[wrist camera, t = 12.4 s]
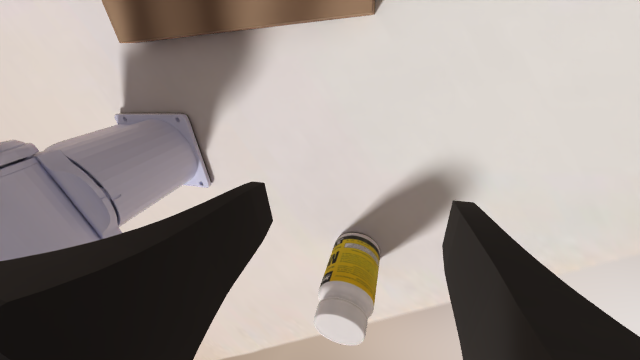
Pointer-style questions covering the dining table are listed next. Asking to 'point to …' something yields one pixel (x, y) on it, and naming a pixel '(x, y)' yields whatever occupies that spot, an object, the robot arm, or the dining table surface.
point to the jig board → (220, 15)
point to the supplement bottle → (348, 289)
